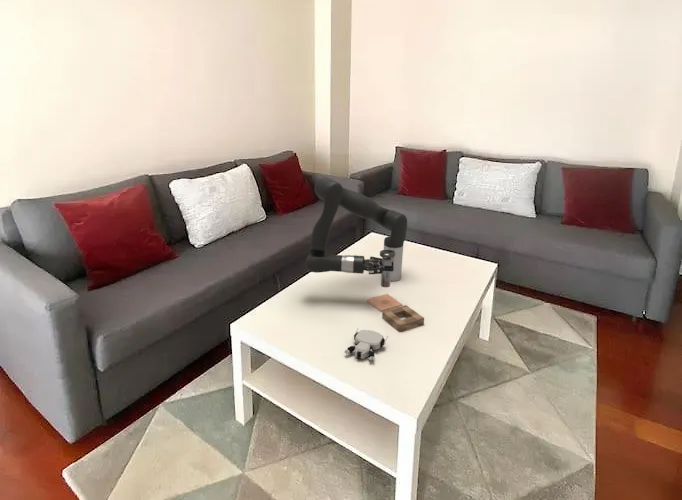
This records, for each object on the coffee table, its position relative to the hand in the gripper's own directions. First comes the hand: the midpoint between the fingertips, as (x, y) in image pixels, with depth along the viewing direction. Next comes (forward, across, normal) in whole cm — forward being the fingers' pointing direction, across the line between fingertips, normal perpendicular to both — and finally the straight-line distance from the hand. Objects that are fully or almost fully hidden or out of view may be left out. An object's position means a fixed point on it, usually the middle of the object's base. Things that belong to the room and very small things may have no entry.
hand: (393, 266), depth 194 cm
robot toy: (-9, -36, +18) cm, 41 cm away
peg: (-3, 0, +9) cm, 9 cm away
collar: (+5, -14, +18) cm, 23 cm away
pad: (-3, 0, +18) cm, 18 cm away
